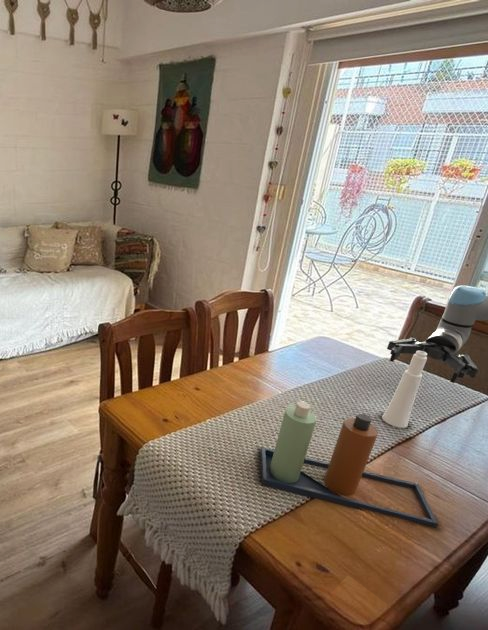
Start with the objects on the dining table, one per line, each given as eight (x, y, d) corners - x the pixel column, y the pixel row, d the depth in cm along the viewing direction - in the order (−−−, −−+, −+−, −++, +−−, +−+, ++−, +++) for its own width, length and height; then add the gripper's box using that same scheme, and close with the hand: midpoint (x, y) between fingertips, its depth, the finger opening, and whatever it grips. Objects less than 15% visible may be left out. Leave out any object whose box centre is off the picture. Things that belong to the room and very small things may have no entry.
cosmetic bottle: (383, 415, 121) (410, 344, 112) (409, 425, 117) (439, 353, 108) (376, 423, 117) (404, 351, 109) (403, 435, 113) (434, 360, 104)
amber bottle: (360, 489, 94) (387, 419, 87) (346, 501, 91) (373, 430, 84) (331, 472, 99) (355, 404, 92) (318, 483, 96) (341, 414, 88)
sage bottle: (304, 475, 98) (325, 407, 90) (289, 487, 95) (310, 417, 87) (279, 460, 102) (297, 393, 95) (264, 470, 99) (282, 402, 92)
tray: (414, 491, 95) (418, 483, 95) (434, 532, 86) (438, 523, 85) (259, 454, 105) (261, 446, 104) (261, 487, 95) (263, 479, 95)
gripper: (492, 373, 122) (476, 400, 110) (389, 340, 140) (365, 360, 127) (504, 349, 119) (488, 374, 107) (397, 319, 137) (373, 337, 124)
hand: (422, 367), depth 117 cm, fingers open, 13 cm apart
